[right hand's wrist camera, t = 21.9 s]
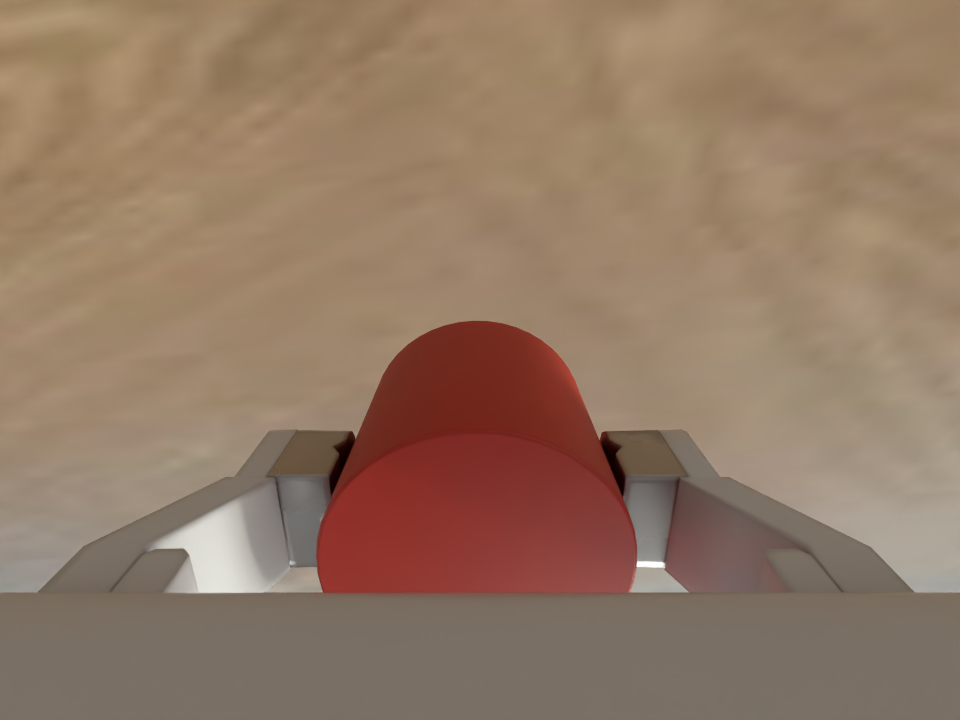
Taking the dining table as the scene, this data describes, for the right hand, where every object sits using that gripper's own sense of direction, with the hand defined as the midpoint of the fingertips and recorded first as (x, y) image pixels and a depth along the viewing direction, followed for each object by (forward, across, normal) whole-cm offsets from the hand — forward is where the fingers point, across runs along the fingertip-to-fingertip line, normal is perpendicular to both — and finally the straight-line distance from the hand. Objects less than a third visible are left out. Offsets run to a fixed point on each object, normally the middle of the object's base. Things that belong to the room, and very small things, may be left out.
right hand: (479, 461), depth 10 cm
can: (+2, 0, 0) cm, 2 cm away
